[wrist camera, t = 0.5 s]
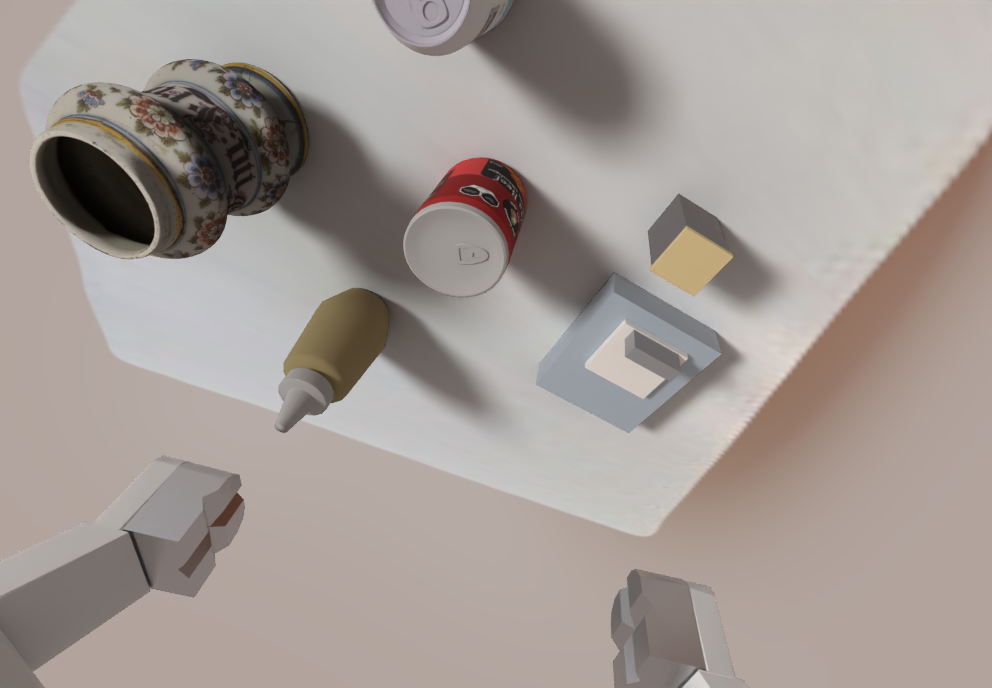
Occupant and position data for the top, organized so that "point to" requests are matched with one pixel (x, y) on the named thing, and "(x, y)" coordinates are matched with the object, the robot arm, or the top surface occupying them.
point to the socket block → (595, 325)
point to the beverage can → (440, 22)
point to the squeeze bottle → (332, 354)
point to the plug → (687, 246)
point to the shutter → (636, 359)
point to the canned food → (467, 228)
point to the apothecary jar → (168, 157)
